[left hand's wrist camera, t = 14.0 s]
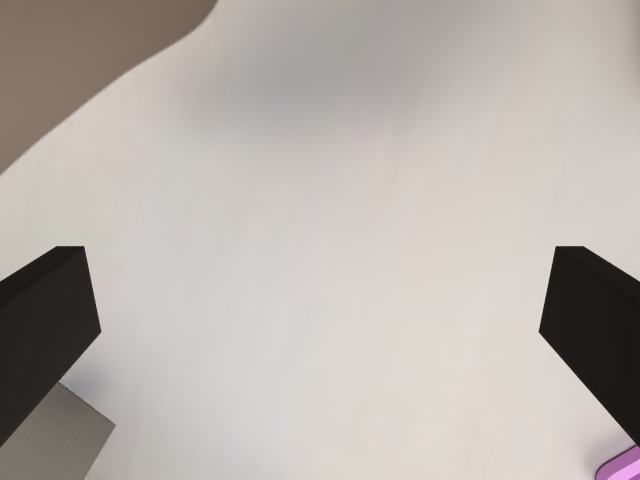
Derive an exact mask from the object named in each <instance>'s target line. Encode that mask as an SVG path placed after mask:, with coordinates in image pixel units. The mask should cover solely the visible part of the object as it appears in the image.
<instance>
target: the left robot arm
mask: <svg viewBox="0 0 640 480" xmlns="http://www.w3.org/2000/svg"><path fill="white" fill-rule="evenodd" d="M100 333H101V328H100V323H99V318H98V313H97V308H96V303H95V298H94V293H93V288H92V283H91V278H90V273H89V268H88V263H87V258H86V253H85V248H84V246H56V247H55V248H53V249H51V250H50V251H48V252H47V253H45V254H43V255H42V256H40V257H39V258H37V259H35V260H34V261H32V262H31V263H29V264H28V265H26V266H24V267H23V268H21V269H20V270H18V271H16V272H15V273H13V274H12V275H10V276H8V277H7V278H5V279H4V280H2V281H0V448H1V447H2V445H3V444H4V443H5V442H6V441H7V440H8V439H9V437H10V436H11V435H12V434H13V433H14V432H15V431H16V429H17V428H18V427H19V426H20V425H21V424H22V422H23V421H24V420H25V419H26V418H27V417H28V416H29V414H30V413H31V412H32V411H33V410H34V409H35V408H36V406H37V405H38V404H39V403H40V402H41V401H42V400H43V398H44V397H45V396H46V395H47V394H48V393H49V392H50V390H51V389H52V388H53V387H54V386H55V385H56V383H57V382H58V381H59V380H60V379H61V378H62V377H63V375H64V374H65V373H66V372H67V371H68V370H69V369H70V367H71V366H72V365H73V364H74V363H75V362H76V361H77V359H78V358H79V357H80V356H81V355H82V354H83V353H84V351H85V350H86V349H87V348H88V347H89V346H90V345H91V343H92V342H93V341H94V340H95V339H96V338H97V336H98V335H99V334H100ZM539 333H540V334H541V335H542V336H543V338H544V339H545V340H546V341H547V342H548V343H549V345H550V346H551V347H552V348H553V349H554V350H555V351H556V353H557V354H558V355H559V356H560V357H561V358H562V359H563V361H564V362H565V363H566V364H567V365H568V366H569V367H570V369H571V370H572V371H573V372H574V373H575V374H576V375H577V377H578V378H579V379H580V380H581V381H582V382H583V383H584V385H585V386H586V387H587V388H588V389H589V390H590V392H591V393H592V394H593V395H594V396H595V397H596V398H597V400H598V401H599V402H600V403H601V404H602V405H603V406H604V408H605V409H606V410H607V411H608V412H609V413H610V414H611V416H612V417H613V418H614V419H615V420H616V421H617V422H618V424H619V425H620V426H621V427H622V428H623V429H624V431H625V432H626V433H627V434H628V435H629V436H630V437H631V439H632V440H633V441H634V442H635V443H636V444H637V445H638V447H639V448H640V281H638V280H636V279H635V278H633V277H632V276H630V275H628V274H627V273H625V272H624V271H622V270H620V269H619V268H617V267H616V266H614V265H612V264H611V263H609V262H608V261H606V260H605V259H603V258H601V257H600V256H598V255H597V254H595V253H593V252H592V251H590V250H589V249H587V248H585V247H584V246H556V248H555V253H554V258H553V263H552V268H551V273H550V278H549V283H548V288H547V293H546V298H545V303H544V308H543V313H542V318H541V323H540V328H539Z"/></svg>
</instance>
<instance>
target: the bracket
mask: <svg viewBox="0 0 640 480" xmlns="http://www.w3.org/2000/svg"><path fill="white" fill-rule="evenodd" d="M596 480H640V448H639V447H638V446H636V447H634V448H633V449H631V450H629V451H628V452H626V453H624V454H622V455H621V456H619V457H617V458H615V459H614V460H612V461H610V462H609V463H607V464H605V465H604V466H603V467H602V468H601V469H600V470H599V472H598V473H597V476H596Z"/></svg>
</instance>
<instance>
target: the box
mask: <svg viewBox="0 0 640 480" xmlns="http://www.w3.org/2000/svg"><path fill="white" fill-rule="evenodd" d="M115 426H116V425H115V424H113V423H112V422H111V421H109V420H108V419H107V418H105V417H104V416H103V415H101V414H100V413H99V412H97V411H96V410H95V409H93V408H92V407H91V406H89V405H88V404H87V403H85V402H84V401H83V400H81V399H80V398H79V397H77V396H76V395H75V394H73V393H72V392H71V391H69V390H68V389H67V388H65V387H64V386H63V385H61V384H60V383H59V382H57V383H56V385H55V386H54V387H53V388H52V389H51V390H50V392H49V393H48V394H47V395H46V396H45V397H44V398H43V400H42V401H41V402H40V403H39V404H38V405H37V406H36V408H35V409H34V410H33V411H32V412H31V413H30V414H29V416H28V417H27V418H26V419H25V420H24V421H23V422H22V424H21V425H20V426H19V427H18V428H17V429H16V431H15V432H14V433H13V434H12V435H11V436H10V437H9V439H8V440H7V441H6V442H5V443H4V444H3V445H2V447H1V448H0V480H84V478H85V476H86V475H87V473H88V471H89V470H90V468H91V466H92V465H93V463H94V461H95V460H96V458H97V456H98V454H99V453H100V451H101V449H102V448H103V446H104V444H105V443H106V441H107V439H108V438H109V436H110V434H111V432H112V431H113V429H114V427H115Z"/></svg>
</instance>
